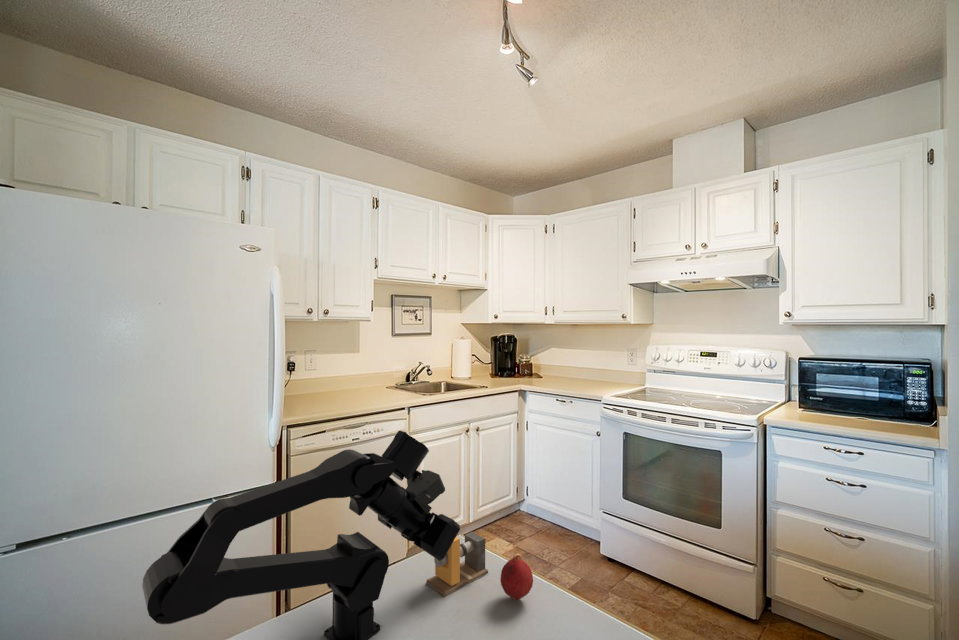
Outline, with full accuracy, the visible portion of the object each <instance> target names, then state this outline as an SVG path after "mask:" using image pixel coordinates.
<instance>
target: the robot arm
mask: <svg viewBox="0 0 959 640" xmlns="http://www.w3.org/2000/svg"><path fill="white" fill-rule="evenodd" d="M429 452H430V450H429V448H428V447H427V446H426V445H425V444H424V443H423V442H420V441H419V440H417V439H416V438H414V437H412V436H411V435H409V433H407V432H406V431H403V430H398V431H397V433H396V434H395V435H394V436H393V439H392V440H391V442H390V444H389V445H388V447H387V448H386V449H385V450H384V452H383V453H382V455H379V454H377V453H374V452H370V453H362V452H359V451H357V450H354V449H344V450H341V451H340V452H338V453H336V454H333V455H332V456H330V457H328V458H325V460H323V461H322V462H321V463H320V464H318V465H317V466H316V467H315V468H313V469H311V470H309V471H306V472H303V473H300V474H296V475H294V476H290V477H288V478H285V479H282V480H278V481H276V482H272V483H270V484H267V485H264V486H261V487H258V488H255V489H251V490H249V491H246V492H243V493H240V494H238V495H233V496H230V497H227V498H226V497H225V498H220V499H217V500H215V501H213V502H211V504H209V505H208V507H206V509H205V510H204V512H203V513H202V514H201V516H200V517H199V518H198V519H197V520H196V521H195V522H194V523H193V524H192V525H191V526H189V527H188V529H186V530H185V532H183V533H182V534H181V535H180V536H179V537H178V538H177V539H176V541H175V542H174V544H173V545H171V547H170V548H169V549H168V550H167V552H166V553H164V554H162V555H161V556H160V557H159V558H157V560H155V561H154V562H153V563H151V565H150V566H149V567H148V569H146V571H145V574H144V576H143V577H142V584H141V586H142V592H143V596H144V600H145V605H146V609H147V612H148V616H149V617H150V618H151V619H152V620H153V621H154V622H155V624H159V625H172V624H176V623H179V622H182V621H185V620H188V619H191V618H192V619H193V618H195V617H198V616H201V615H203V614H206V613H207V612H209V611H211V610H212V609H214V608H215V607H217V606H218V605H221V604H222V603H224V602H225V601H227V600H230V599H235V598H236V599H237V598H243V597H248V596H249V597H250V596H255V595H262V594H268V593H274V592H280V591H281V592H282V591H288V590H293V589H294V590H295V589H300V588H306V587H314V586H319V585H320V586H321V585H326V586H327V588H329V589H330V590H331V591H332V621H331V626H329V627H328V628H326V629H325V630H324V631H323V636H324V637H326V638H327V639H328V640H368V639H370V638H371V637H372V636H374V635H375V634H376V633H378V632H380V630H381V624H379V623H378V622H376V621H375V620H374V619H375V607H374V602H375V601H377V600H379V598H380V596H381V591H382V588H383V585H384V581H385V577H386V574H387V572H388V569H389V566H390V565H389V564H390V560H389V556H388V554H387V552H386V551H385V550H384V549H382V547H379V546H378V545H377V544H376V543H374V542H373V541H371V540H370V539H368V538H367V537H366V536H365V535H364V534H362V533H360V531H356V532H354V533H352V534H344V533H339V534H337V539H336V540H337V541H336V543H335V544H333V545H332V546H330V547H329V548H327V549H326V548H325V549H319V550H318V549H317V550H306V551H298V552H297V551H296V552H288V553H286V552H285V553H278V554H265V555H257V556H255V555H254V556H248V557H247V556H245V557H238V558H227V557H225V556H226V553H227V551H228V549H229V548H230V546H231V543H232V542H233V541H234V540H235V538H236V536H237V535H238V534H239V533H240V532H241V531H245V530H246V529H249V528H251V527H254V526H257V525H259V524H262V523H264V522H267V521H270V520H273V519H275V518H277V517H281V516H283V515H286V514H288V513H290V512H293V511H296V510H298V509H300V508H303V507H304V508H305V507H306V506H309V505H311V504H313V503H314V504H315V503H316V502H318V501H323V500H327V499H344V498H349V499H350V501H349V506H348V509H349V510H350V511H352V512H353V513H355V514H357V516H363V514H364V513H365V512H366V510H367V508H368V509H370V510H371V511H372V512H374V513H375V514H377V521H378V522H380V523H381V524H382V525H384V526H385V527H387V528H388V529H389V530H392V528H393V530H395V531H396V532H397V533H398V532H399V533H400V535H401V537H402V538H404V539H406V540H408V541H410V542H412V543H413V545H415V546H417V547H418V548H420V549H422V551H424V552H425V553H427V554H428V555H429V556H431V557H433V558H436V559H437V560H439V561H440V560H442V559H444V557H445V555H446V554H447V552H448V550H449V548H450V546H451V545H452V543H453V541H454V539H455V538H456V537H458V534H459V532H460V531H461V526H460V524H459V523H458V522H457V521H455V520H454V519H452V518H451V517H449V516H447V515H445V514H443V513H440V514H437V513H435V512H433V511H432V512H431V510H432V509H433V507H431V506H430V504H432V503H433V502H434V501H435V500H436V499H437V498H438V497H439V496H440V495H443V494H444V492H445V491H446V487H445V485H444V483H443V480H442V477H441V475H440V474H439V473H436V472H434V471H432V470H429V469H428V470H425V469H422V470H421V471H419V470H418V468H419V467H420V465H421V464H422V462H423V461H424V459H425V457H426V456H427V455H428V454H429ZM391 476H392V477H394V478H396V480H399V481H400V482H402V481H403V480H404V479H406V483H407V486H406V488H404V487H403V486H401V485H400V484H399V483H398V482H396V481H395V480H394V479H393V478H392V477H391Z"/></svg>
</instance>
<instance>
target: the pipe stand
mask: <svg viewBox="0 0 959 640" xmlns="http://www.w3.org/2000/svg"><path fill="white" fill-rule="evenodd" d="M463 557H464V560H463V562H460V582H458V583H456V584H455V585H453V586H451V585H449V584H448V583H446V582H445V581H444V580H442V579H441V578H439V577H438V576H436V575H434V576H432V577H430V578H427V579H426V580H425V581H426V582H425V583H426V585H428V586H429V587H431V588H432V589H434V590H435V591H436V592H438V593H439V594H441V595H442V596H443V597H447V596H448V595H450V594H452V593H454V592H456V591H458V590H460V589H461V588H463V587H465V586H467V585H469V584H471V583H472V582H474V581H476V580H477V579H480V578H481V577H484V576H485V575H487V574H489V570H488V569H487V568H486V538H485V537H483V536H481V535H479V534H477V533H475V532H474V531H470V532H468V533H465V534H464V543H460V558H463ZM433 558H434V557H433ZM447 563H448V554H446V555H445V557H444V559H442V560H440V561H439V560H437V559H436V558H434V565H435V564H436V566H437V567H441V566H443V565H445V564H447Z"/></svg>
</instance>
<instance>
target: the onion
mask: <svg viewBox="0 0 959 640" xmlns="http://www.w3.org/2000/svg"><path fill="white" fill-rule="evenodd" d="M521 558H522V555H521V554H520V553H515V554H514V556H513V557H512V558H511V559H509V560H508V561H507V562H506V563H505V564H504V565H503V566H502V569H501V573H500V578H499V579H500V585H501V587H502V590H503V591H504V593H505V594H506V595H507V596H508V597H510V598H511V599H513V600H515V601H520V600H521V599H523V598H524V597H526V596H527V595H528V594H529V593H530V591H531V590H532V588H533V585H534V576H533V571H532V569H531V567H530V566H529V565H528V563H527V562H526V561H524V560H523V559H521Z"/></svg>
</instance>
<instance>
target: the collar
mask: <svg viewBox="0 0 959 640" xmlns="http://www.w3.org/2000/svg"><path fill="white" fill-rule="evenodd" d="M460 544H461V538H460V537H458V536H456V538H455V539H454V541H453V543H452V545H451V546H450V548H449V550H448V552H447V554H448V563H447V564H445V565H443V566H441V567H437V566H436V564H435V563H434V565H435V567H434V571H435V572H434V573H435V574H434V576H438V577H439V578H441V579H442V580H444V581H445V582H446V583H448V584H449V585H451V586H453V585H455V584H456V583H458V582H460V563H461V557H460Z"/></svg>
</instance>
